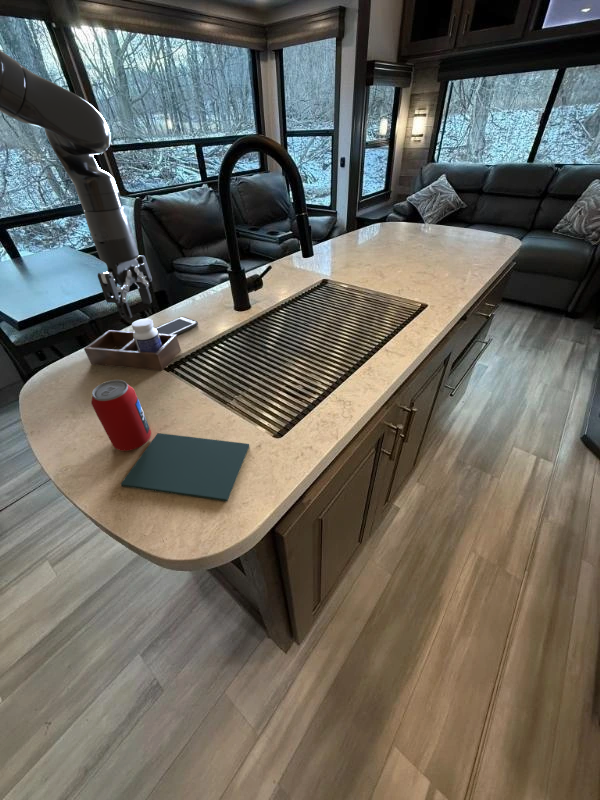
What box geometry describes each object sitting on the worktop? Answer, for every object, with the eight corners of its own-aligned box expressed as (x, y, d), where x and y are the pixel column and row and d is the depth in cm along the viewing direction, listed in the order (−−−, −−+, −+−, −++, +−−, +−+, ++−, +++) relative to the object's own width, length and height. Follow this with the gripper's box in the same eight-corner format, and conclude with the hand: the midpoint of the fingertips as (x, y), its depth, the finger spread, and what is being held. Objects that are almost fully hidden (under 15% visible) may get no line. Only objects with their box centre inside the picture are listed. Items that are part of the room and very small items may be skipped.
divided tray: (91, 364, 83) (83, 348, 81) (115, 344, 91) (109, 329, 88) (162, 370, 81) (157, 354, 78) (180, 350, 88) (176, 334, 86)
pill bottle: (170, 356, 86) (159, 320, 80) (151, 366, 82) (139, 329, 76) (155, 350, 88) (144, 315, 82) (137, 360, 85) (123, 324, 78)
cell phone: (199, 324, 100) (199, 321, 99) (158, 344, 91) (157, 341, 90) (183, 318, 103) (182, 315, 103) (141, 337, 94) (140, 333, 94)
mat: (121, 486, 54) (120, 484, 53) (158, 435, 63) (157, 432, 63) (227, 501, 51) (226, 499, 51) (249, 446, 60) (249, 443, 60)
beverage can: (160, 432, 63) (140, 381, 56) (135, 457, 58) (110, 405, 51) (131, 425, 65) (109, 374, 58) (105, 448, 60) (77, 396, 53)
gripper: (116, 226, 73) (139, 297, 83) (71, 242, 62) (104, 322, 72) (147, 226, 72) (167, 299, 82) (107, 243, 61) (135, 324, 71)
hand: (137, 310), depth 77 cm, fingers open, 8 cm apart
